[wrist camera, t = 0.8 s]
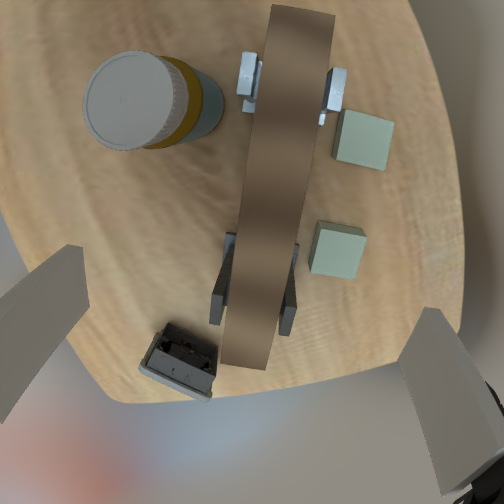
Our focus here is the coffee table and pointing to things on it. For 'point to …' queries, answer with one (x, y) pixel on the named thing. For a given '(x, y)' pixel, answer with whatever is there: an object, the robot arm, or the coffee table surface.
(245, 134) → the coffee table surface
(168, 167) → the coffee table surface
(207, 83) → the bottle
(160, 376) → the electrical switch
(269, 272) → the rail
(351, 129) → the blocks
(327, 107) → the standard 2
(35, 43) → the coffee table surface
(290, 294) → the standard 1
